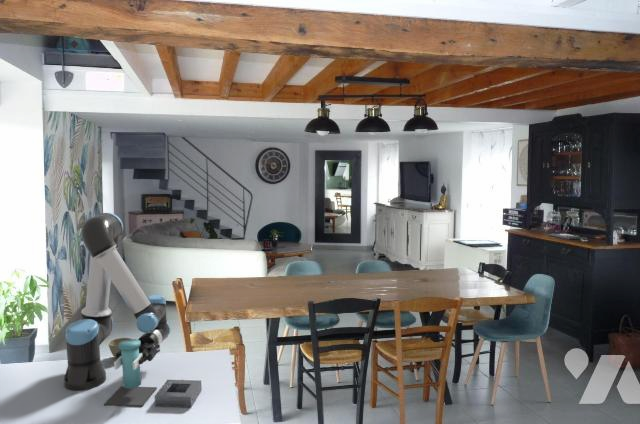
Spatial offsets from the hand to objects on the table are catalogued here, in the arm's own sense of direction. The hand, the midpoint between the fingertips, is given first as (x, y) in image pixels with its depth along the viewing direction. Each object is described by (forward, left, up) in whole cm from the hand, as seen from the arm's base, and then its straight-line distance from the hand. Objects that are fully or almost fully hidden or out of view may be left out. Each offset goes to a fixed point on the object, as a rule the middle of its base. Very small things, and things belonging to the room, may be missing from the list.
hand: (124, 365), depth 195 cm
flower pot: (-20, +40, -14) cm, 47 cm away
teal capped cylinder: (0, +5, -9) cm, 11 cm away
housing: (+17, +5, -14) cm, 23 cm away
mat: (-1, +5, -14) cm, 15 cm away
